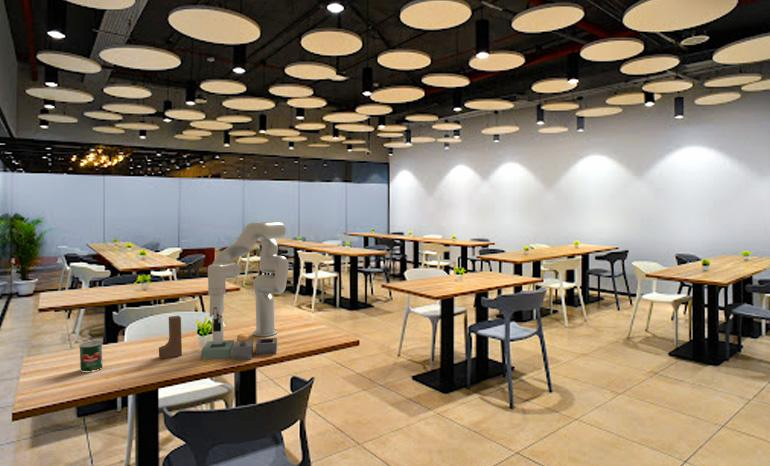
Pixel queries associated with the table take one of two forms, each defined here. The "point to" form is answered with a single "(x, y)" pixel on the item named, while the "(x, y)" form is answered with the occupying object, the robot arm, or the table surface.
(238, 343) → the release housing
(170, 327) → the wooden block
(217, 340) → the steel peg
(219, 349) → the green recessed block
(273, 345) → the socket block
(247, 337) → the release button
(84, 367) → the canned tomato
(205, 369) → the table surface
